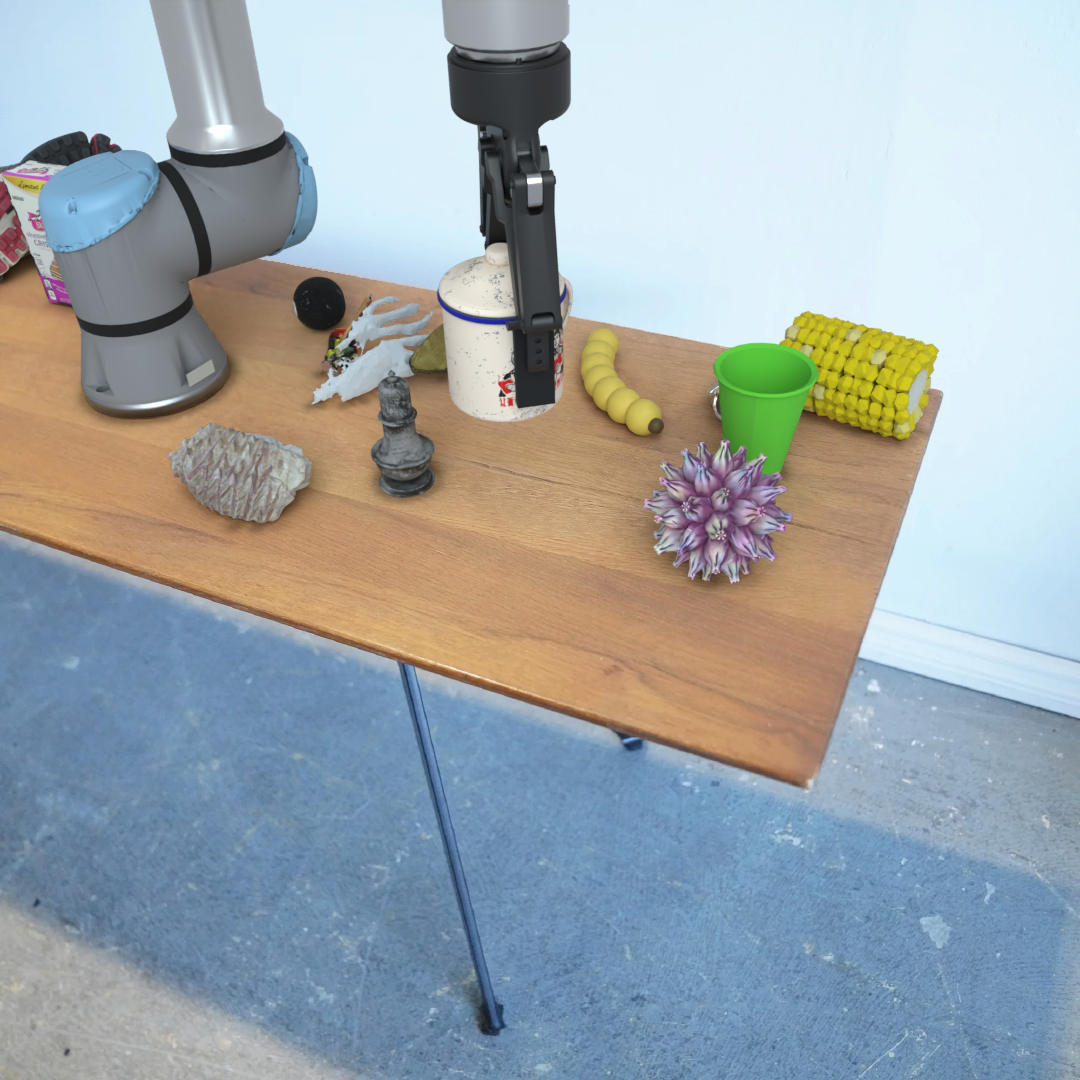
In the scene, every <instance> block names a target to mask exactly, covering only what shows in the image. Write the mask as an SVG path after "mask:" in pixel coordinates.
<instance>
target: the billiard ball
mask: <svg viewBox="0 0 1080 1080" xmlns="http://www.w3.org/2000/svg"><path fill="white" fill-rule="evenodd" d="M292 306H293V310H294V313H295V315H296V317H297V319H298V320H299V322H300V323H301V324H302V325H304V326H305V327H306V328H309V329H311V330H314V331H327V330H331V329H333V328H334V327H336V326H337V325H339V324H340V322H342V320H343V319H344V317H345V315H346V309H347V301H346V297H345V294H344V291H343V290H342V288H341V286H340V285H339V284H338V283H337V282H336V281H335V280H333V279H331V278H328V277H326V276H311V277H308V278H305V279H304V280H302V281H301V282H300V283H299V284H298V285H297V286H296V288H295V289H294V292H293V296H292Z"/></svg>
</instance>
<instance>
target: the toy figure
mask: <svg viewBox="0 0 1080 1080" xmlns="http://www.w3.org/2000/svg"><path fill="white" fill-rule="evenodd" d="M372 296H373V294H370V295H367V296H365V298H364V300H363V302H362V304H361V305H360V306H359V308H358V310H357V312H356V313H355V315H354V316H353V318H352V319H351V320H350V322H349V324H348V325H347V327H346V328H334V330H333V331H331V332H330V334H329V335H328V339H327V350H326V351H327V352H326V354H325V355H324V358H323V361H322V362H321V363H320V369H321V371H320V375H322V376H323V374H324V373H325V372H326V373H329V369H330V368H332V369H333V372H334V374H333V376H334V377H337V376H338V375H339V373H340V371H339V370H338V368H341V369H342V367H344V366H343V364H341V366H340V365H338V364H337V363H339V362H341V361H343V362H344V360H345V361H346V362H350V361H349V360H348V359H350V360H351V362H354V361H355V360H356V357H359V355H358V352H359V351H358V349H357V346H358V341H357V342H356V340H355V339H354V340H352V341H351V343H350V344H349V345H348V347H347V348H345V349H343V350H341V351H340V350H339V348H335V347H336V346H338V345H339V344H340V343H341V342H342V341H343V340H345V339H346V338H348V336H349V332H350V331H351V330H352V323H353V321H358V317H362V316H363V310H365V308H366V307H369V305H371V304H372V303H373V297H372ZM355 344H357V346H355ZM343 357H345V359H342V358H343ZM345 366H346V367H347V368H348V365H347V364H346V365H345ZM347 368H346V369H347ZM334 370H337V371H338V372H336V371H334Z"/></svg>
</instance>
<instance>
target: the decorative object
mask: <svg viewBox="0 0 1080 1080" xmlns="http://www.w3.org/2000/svg"><path fill="white" fill-rule="evenodd" d="M395 302H399V303H402V302H401V299H400V298H399V297H396V296H393V295H387V296H384V297H381V298H378V299H376V300H375V301H372V302H371V303H370V305H369V306H368V307H366V308H365V310H363V315H362V317H358V321H353V323H352V330H351V331H350V332H349V336H348V338H346V339H345V340H343V341H342V342H341V343H340V344H339V345H338V346H336V347H335V348H339V350H340V351H341V350H343V349H345V348H347V347H348V345H349V344H350V343H351V341H352V340H354V339H355V340H356V342H357V344H355V346H357V350H358V349H359V348H361V353H360V355H359V356H358V357H356V360H355V361H354V362H351V360H350V359H348V360H349V361H350V362H346V361H345V360H344V362H343V361H341V362H339V363H337V364H338V365H340V366H341V364H343V366H344V367H342V368H341V371H340V374H338V375H337V376H334V375H333V374H334V372H333V369H332V368H330V369H329V373H328V372H326V375H327V377H328V379H327V381H326V382H324V383H322V384H321V385H320V388H318V387H316V389H315V390H313V391H312V393H313V399H314V400H313V401H312V403H311V405H314V404H317V403H318V402H321V401H323V402H324V401H327V400H328V399H332V398H333V396H335V394H338V396H339V397H340V399H341V402H343V403H345V402H346V401H349V400H352V399H354V398H357V397H359V396H361V395H364V394H366V393H369V392H371V391H372V390H374V389H376V388H378V385H379V383H380V382H381V381H382V380H383V379H384V378H386V377H389V376H388V373H389V371H390V370H392V371H394V372H395V375H394V376H399V377H402V378H404V379H405V378H410V377H412V376H415V374H413V372H412V371H411V368H410V365H409V359H410V357H411V356H412V355H413V354H414V352H415V351H414V350H410V349H406V348H405V347H410V348H412V347H417V346H420V345H421V344H422V343H423V342H424V341H425V339H426V338H427V337H428V336H429V335H430V334H431V333H429V334H418V332H419V331H422V330H423V329H424V328H425V327H426V326H427V324H428V322H429V321H430V320H432V316H433V315H434V314H435V313H436V312H437V311H436V310H433V311H431V310H430V311H429V313H428V314H425V316H424V317H423V318H422V319H420V320H417V321H415V322H410V323H405V324H401V323H396V324H393V325H389V326H383V325H386V324H389V323H392V322H394V321H398V320H402V319H404V318H407V317H409V318H412V317H413V316H414V315H416V314H417V313H418V310H420V307H422V305H421V304H419V303H417V302H415V303H413V302H410V303H408V304H406V305H403V306H401V307H399V306H398V307H397V309H393V310H391V311H387V312H384V313H378V314H373V313H374V311H375V310H376V308H378V307H379V306H384V305H385V304H391V303H395ZM398 334H401V335H406V336H403V337H400V338H392V339H389V340H386V339H383V340H382V339H381V340H380V341H379V345H377V346H374V347H373V348H370V349H369V350H367V351H366V352H365V353H364V354H363V351H364V349H365V347H366V345H367V342H368V341H369V340H370V341H371V342H373V341H375V340H377V339H379V338H382V337H389V336H396V335H398ZM415 334H416V335H415ZM358 343H359V345H358ZM342 359H345V357H343V358H342ZM346 364H347V365H348V368H347V367H346V366H345V365H346ZM346 368H347V369H346ZM334 371H336V372H339V370H338V371H337V370H334Z"/></svg>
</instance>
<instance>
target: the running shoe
mask: <svg viewBox="0 0 1080 1080" xmlns="http://www.w3.org/2000/svg"><path fill="white" fill-rule="evenodd" d="M111 140H112V139H111V138H110V137H109V136H108V135H106V134H104V133H95V134H93V136H92V137H91V139H90V140H89V138H88V136H87V134H86V133H85V132H84V131H82V130H77V131H74V132H70V133H66V134H62V135H60V136H57V137H55V138H52V139H49V140H47V141H44V142H43V143H41V144H40V145H38V146H37V147H35V148H33V149H32V150H31V151H29V152H28V153H27V154H25V156H23V158H22V159H21V160H20V161H19V162H17V163H14V164H9V165H3V166H0V282H2V281H3V277H4V275H5V273H7V272H8V271H9V270H10V268H11V267H13V266H14V265H16V264H17V263H18V262H19V261H20V260H21V259H23V258H25V257H26V256H28V255H31V252H30V250H29V247H28V244H27V242H26V239H25V236H24V234H23V232H22V229H21V226H20V223H19V221H18V218H17V215H16V213H15V210H14V208H13V205H12V202H11V200H10V197H9V194H8V192H7V189H6V187H5V184H4V181H3V178H2V176H1V174H2V173H4V172H5V171H7V170H9V169H13V168H14V167H16V166H18V165H21V164H23V163H25V162H27V161H30V160H31V161H37V162H43V163H49V164H56V165H62V166H69V165H71V164H73V163H75V162H78V161H80V160H82V159H85V158H88V157H91V156H94V155H98V154H102V153H106V152H112V153H116V152H118V151H121V150H123V149H122V147H121V146H120V145H118V144H117V143H111Z"/></svg>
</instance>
